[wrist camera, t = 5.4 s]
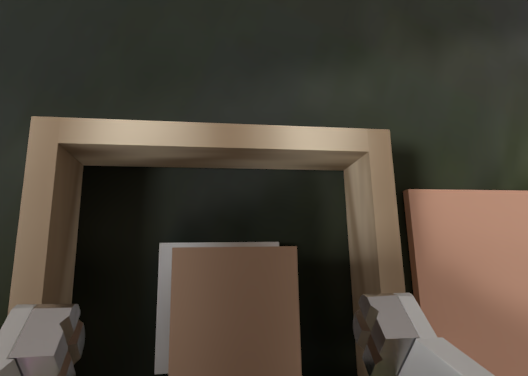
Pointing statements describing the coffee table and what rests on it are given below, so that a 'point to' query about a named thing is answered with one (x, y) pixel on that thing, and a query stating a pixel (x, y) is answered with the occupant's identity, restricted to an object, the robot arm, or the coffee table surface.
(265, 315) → the wooden post
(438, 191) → the terracotta tile
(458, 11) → the coffee table surface
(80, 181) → the frame
